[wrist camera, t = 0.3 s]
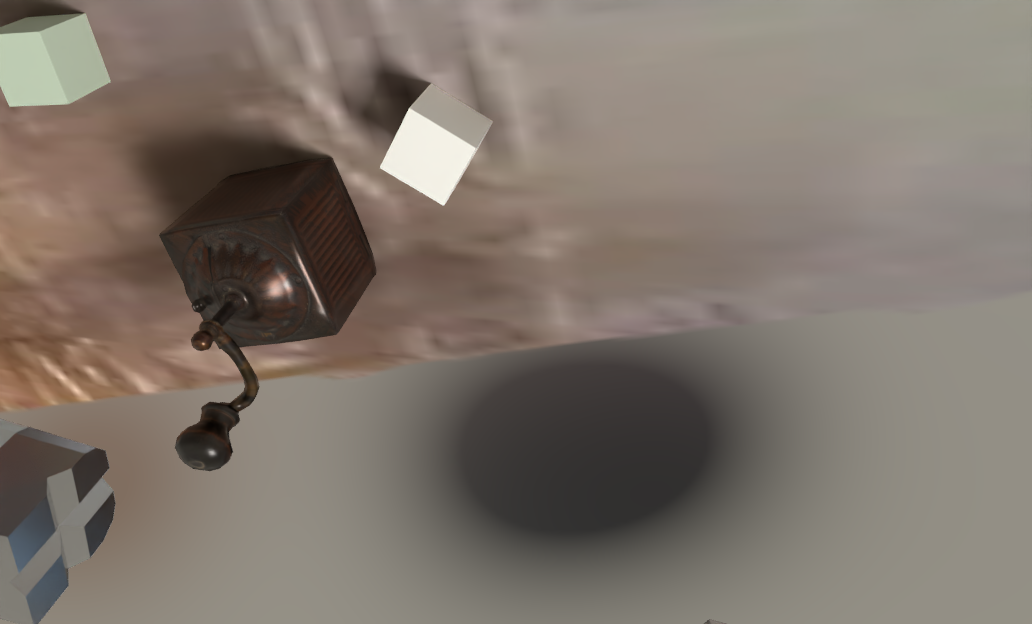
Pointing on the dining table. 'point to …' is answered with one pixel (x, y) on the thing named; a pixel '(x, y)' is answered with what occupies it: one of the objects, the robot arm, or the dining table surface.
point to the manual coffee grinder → (265, 275)
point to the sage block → (49, 60)
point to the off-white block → (435, 143)
